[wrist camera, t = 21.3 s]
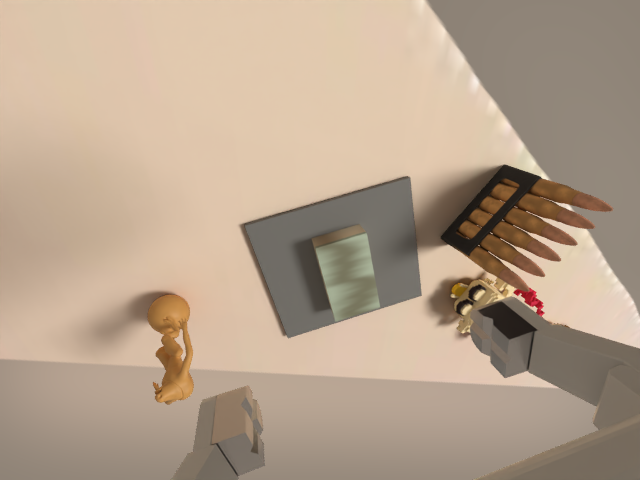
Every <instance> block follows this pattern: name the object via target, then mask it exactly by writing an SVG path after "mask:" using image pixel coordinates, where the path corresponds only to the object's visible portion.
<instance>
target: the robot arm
mask: <svg viewBox="0 0 640 480" xmlns="http://www.w3.org/2000/svg"><path fill="white" fill-rule="evenodd" d="M470 318H471V319H472V320H473V321H474V322H473V323H472V325H471V326H470V335H471V338H472V340H473V342H474V344H475V345H476V347H477V348H478V349H479V350H480V352H481V353H483V354H486V355H488V356H490V361H491V364H492V365H493V366H494V367H495V368H496V369H497V370H498V371H499V372H500V373H501V374H502V376H503V377H504V378H507V377H510V376H513V375H516V374H519V373H522V372H525V371H528V370H529V371H528V372H529V373H531V374H533V375H535V376H537V377H539V378H541V379H543V380H545V381H547V382H549V383H551V384H553V385H555V386H557V387H559V388H561V389H563V390H565V391H567V392H569V393H571V394H573V395H575V396H577V397H579V398H581V399H583V400H585V401H586V402H589V403H590V404H593V405H594V406H596V407H597V408H596V410H595V413H594V416H593V424H594V425H595V426H596V427H597V428H598V429H599V430H598V431H595V432H593V433H590V434H588V435H585V436H583V437H580V438H578V439H575V440H573V441H570V442H567V443H566V444H562V445H560V446H557V447H555V448H552V449H550V450H547V451H545V452H542V453H540V454H537V455H535V456H532V457H530V458H527V459H525V460H522V461H519V462H517V463H514V464H512V465H509V466H507V467H504V468H502V469H499V470H496V471H494V472H491V473H489V474H487V475H484V476H481V477H479V478H476V479H474V480H640V349H639V348H636V347H632V346H629V345H626V344H622V343H619V342H616V341H612V340H609V339H605V338H602V337H599V336H595V335H592V334H589V333H585V332H582V331H578V330H575V329H572V328H568V327H565V326H562V325H558V324H555V325H552V324H550V323H549V322H548V321H546V320H545V319H544V318H542V317H541V316H540V315H538V314H537V313H535V312H534V311H533V310H531V309H530V308H529V307H527V306H526V305H525V304H523V303H522V302H521V301H519V300H518V299H517V298H515V297H512V296H510V297H507V298H504V299H501V300H498V301H495V302H492V303H489V304H486V305H483V306H481V307H478V308H475V309H472V311H471V312H470ZM262 431H263V422H262V415H261V410H260V407H259V404H258V402H257V400H255V399H253V396H252V390H251V389H250V387H249V386H245V387H241V388H238V389H235V390H232V391H228V392H225V393H222V394H219V395H216V396H213V397H210V398H207V399H204V400H202V402H201V405H200V409H199V416H198V422H197V429H196V435H195V441H194V447H193V452H191V453H189V454H188V455H187V456H186V458H185V459H184V461H183V462H182V464H181V465H180V467H179V468H178V470H177V471H176V473H175V474H174V476H173V478H172V479H171V480H238V476H240V475H242V474H245V473H247V472H250V471H252V470H255V469H257V468H260V467H262V466H265V463H264V443H263V442H262V439H261V438H260V435H261V433H262Z"/></svg>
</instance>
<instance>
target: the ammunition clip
mask: <svg viewBox="0 0 640 480" xmlns="http://www.w3.org/2000/svg"><path fill="white" fill-rule="evenodd" d="M541 197H543V198H541ZM544 198H546V199H544ZM547 199H549V200H552V201H554V202H558V203H565V204H569V205H573V206H577V207H580V208H584V209H589V210H593V211H604V212H606V211H612V210H613V208H612V207H611V206H610V205H609V204H607V203H605V202H604V201H602V200H600V199H598V198H596V197H593V196H591V195H588V194H584V193H582V192H579V191H577V190H574V189H572V188H570V187H568V186H566V185H562V184H559V183H555V182H552V181H549V180H545V179H542V178H541V177H540V176H537V175H534V174H531V173H528V172H525V171H523V170H520V169H517V168H514V167H511V166H508V165H503V167H502V168H501V169H500V170H499V171H498V172H497V173H496V175H495V176H494V177H493V178H492V179H491V180H490V181H489V182H488V184H487V185H486V186H485V187H484V188H483V189H482V190H481V192H480V193H479V194H478V195H477V196H476V197H475V198H474V199H473V201H472V202H471V203H470V204H469V205H468V206H467V207H466V209H465V210H464V211H463V212H462V213H461V214H460V215H459V216H458V218H457V219H456V220H455V221H454V222H453V223H452V224H451V226H450V227H449V228H448V229H447V230H446V231H445V232H444V233H443V235H442V236H441V239H442V240H444V241H445V242H446V243H448V244H449V245H450V246H452V247H454V248H455V249H457V250H458V251H460V252H461V253H463V254H464V255H465V256H467V257H468V258H469V259H471V260H472V261H473V262H475V263H476V264H477V265H479V266H480V267H482V268H483V269H484V270H486V271H487V272H489V273H491V274H493V275H495V276H496V277H498V278H500V279H501V280H503V281H504V282H506V283H507V284H509V285H511V286H513V287H515V288H517V289H519V290H522V291H526V292H529V291H530V289H529V287H528V286H527V284H526V283H525V282H524V281H523V280H522V279H521V278H520V277H519V276H518V275H517V274H516V273H514V272H513V271H511V270H510V269H509V268H508V267H506V266H505V265H504V264H503V263H502V262H501V261H500V260H499V259H498V258H500V259H502V260H504V261H507V262H509V263H511V264H513V265H514V266H516V267H518V268H520V269H522V270H524V271H526V272H528V273H530V274H533V275H536V276H540V277H545V274H544V272H543V271H542V269H541V268H540V267H539V266H538V265H537V264H536V263H534V262H533V261H532V260H530V259H529V258H527V257H525V256H524V255H523V254H521V253H520V252H518V251H517V250H516V249H515V248H514V247H513V246H511V245H510V244H512V245H514V246H516V247H520V248H523V249H525V250H527V251H529V252H531V253H533V254H535V255H537V256H539V257H542V258H544V259H548V260H551V261H561V258H560V257H559V256H558V254H557V253H555V252H554V251H553V250H552V249H551V248H549V247H548V246H546V245H545V244H543V243H541V242H539V241H538V240H536V239H534V238H533V237H531V236H530V235H529V234H527V233H526V232H524V231H523V230H525V231H527V232H530V233H534V234H537V235H539V236H542V237H545V238H547V239H549V240H552V241H554V242H557V243H561V244H565V245H573V246H576V245H577V244H578V243H577V242H576V241H575V239H574V238H572V237H571V236H570V235H569V234H567V233H566V232H564V231H562V230H560V229H559V228H556V227H554V226H552V225H551V224H549V223H547V222H545V221H543V220H542V219H541V218H539V217H537V216H535V215H538V216H540V217H543V218H548V219H552V220H555V221H558V222H561V223H564V224H567V225H570V226H574V227H578V228H584V229H593V228H594V227H595V226H594V224H593V223H592V222H590V221H589V220H587V219H586V218H584V217H583V216H581V215H579V214H577V213H575V212H573V211H570V210H567V209H566V208H563V207H561V206H559V205H557V204H556V203H554V202H552V201H549V200H547ZM500 200H501V201H500ZM502 201H503V202H502ZM504 202H505V203H504ZM514 206H516V207H518V208H516V207H514ZM526 211H528V212H530V213H533V214H535V215H532V214H530V213H528V212H526ZM489 213H490V214H489ZM491 214H492V215H491ZM503 220H504V221H503ZM477 225H478V226H477ZM513 225H515V226H517V227H519V228H521V229H523V230H521V229H519V228H517V227H515V226H513ZM479 226H480V227H479ZM481 227H482V228H481ZM490 232H491V233H493V234H491V233H490ZM466 237H467V238H466ZM468 238H469V239H468ZM500 238H501V239H503V240H505V241H507V242H509V243H510V244H508V243H506V242H505V241H503V240H501V239H500ZM478 245H480V246H478ZM488 251H489V252H491V253H492V254H494V255H495V256H497V257H498V258H496V257H495V256H493V255H492V254H490V253H489V252H488Z"/></svg>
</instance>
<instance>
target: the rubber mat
mask: <svg viewBox="0 0 640 480" xmlns="http://www.w3.org/2000/svg"><path fill="white" fill-rule="evenodd" d="M358 224H360V225H361V227H362V228H363V229H364V230H365V231H366V233H367V237H368V242H369V248H370V253H371V259H372V265H373V270H374V276H375V281H376V287H377V292H378V298H379V303H380V308H377V309H374V310H371V311H368V312H365V313H362V314H366V313H369V312H372V311H375V310H378V309H381V308H384V307H387V306H391V305H394V304H397V303H400V302H403V301H406V300H409V299H412V298H416V297H419V296H422V294H421V284H420V274H419V263H418V253H417V243H416V232H415V222H414V212H413V202H412V191H411V181H410V177H408V176H407V177H404V178H400V179H397V180H393V181H390V182H386V183H383V184H380V185H376V186H373V187H369V188H366V189H362V190H359V191H356V192H352V193H349V194H345V195H342V196H338V197H335V198H332V199H328V200H325V201H321V202H318V203H314V204H311V205H308V206H304V207H301V208H297V209H294V210H290V211H287V212H284V213H280V214H277V215H273V216H270V217H266V218H263V219H260V220H256V221H253V222H249V223H246V224H245V228H246V231H247V234H248V236H249V239H250V241H251V244H252V246H253V249H254V252H255V254H256V257H257V259H258V262H259V265H260V267H261V270H262V272H263V275H264V278H265V280H266V283H267V285H268V288H269V290H270V293H271V296H272V298H273V301H274V303H275V306H276V309H277V311H278V314H279V316H280V319H281V322H282V324H283V327H284V329H285V332H286V334H287V337H288V338H291V337H294V336H297V335H300V334H303V333H306V332H309V331H312V330H316V329H319V328H322V327H325V326H328V325H331V324H334V323H337V322H341V321H344V320H347V319H350V318H353V317H356V316H359V315H362V314H358V315H355V316H352V317H349V318H346V319H343V320H340V321H336V322H335V319H334V316H333V313H332V310H331V307H330V304H329V300H328V296H327V293H326V289H325V286H324V282H323V278H322V275H321V271H320V268H319V264H318V260H317V257H316V253H315V250H314V246H313V242H312V239H311V238H314V237H318V236H321V235H324V234H328V233H331V232H334V231H338V230H341V229H344V228H348V227H351V226H354V225H358Z"/></svg>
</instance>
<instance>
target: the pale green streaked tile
mask: <svg viewBox="0 0 640 480" xmlns="http://www.w3.org/2000/svg"><path fill="white" fill-rule="evenodd" d="M311 239H312V242H313V246H314V250H315V253H316V257H317V260H318V264H319V268H320V271H321V275H322V278H323V282H324V286H325V289H326V293H327V296H328V300H329V304H330V307H331V310H332V313H333V316H334V319H335V322H336V321H340V320H343V319H346V318H349V317H352V316H355V315H358V314H362V313H365V312H368V311H371V310H374V309H377V308H380V303H379V298H378V292H377V287H376V281H375V276H374V270H373V265H372V259H371V253H370V248H369V242H368V237H367V233H366V231H365V230H364V229H363V228H362V227H361V225H360V224H358V225H354V226H351V227H348V228H344V229H341V230H338V231H334V232H331V233H328V234H324V235H321V236H318V237H314V238H311Z"/></svg>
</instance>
